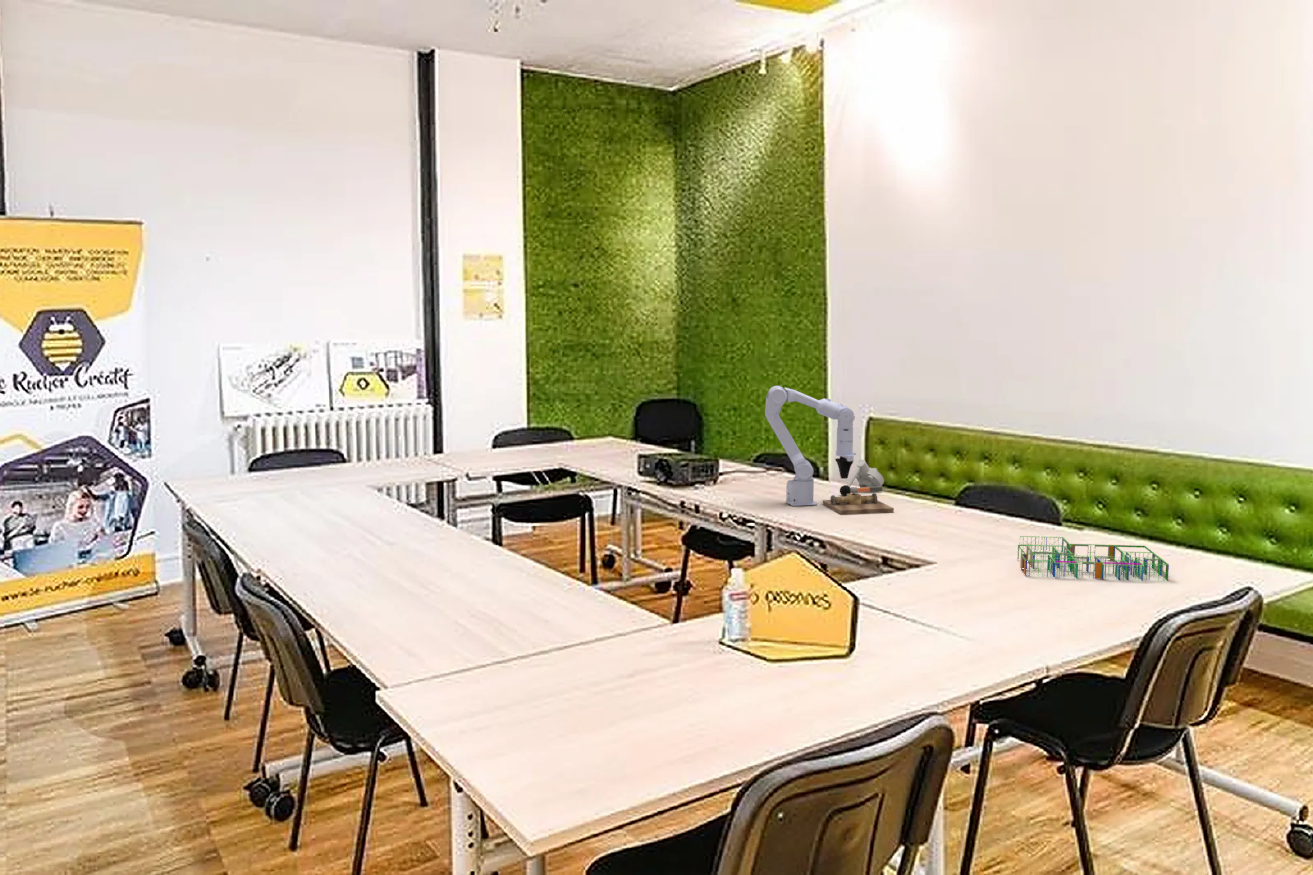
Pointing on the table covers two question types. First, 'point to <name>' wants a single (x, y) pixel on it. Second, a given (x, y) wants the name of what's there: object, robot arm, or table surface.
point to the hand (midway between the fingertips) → (844, 478)
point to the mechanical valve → (863, 477)
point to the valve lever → (866, 489)
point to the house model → (1098, 565)
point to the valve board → (857, 504)
